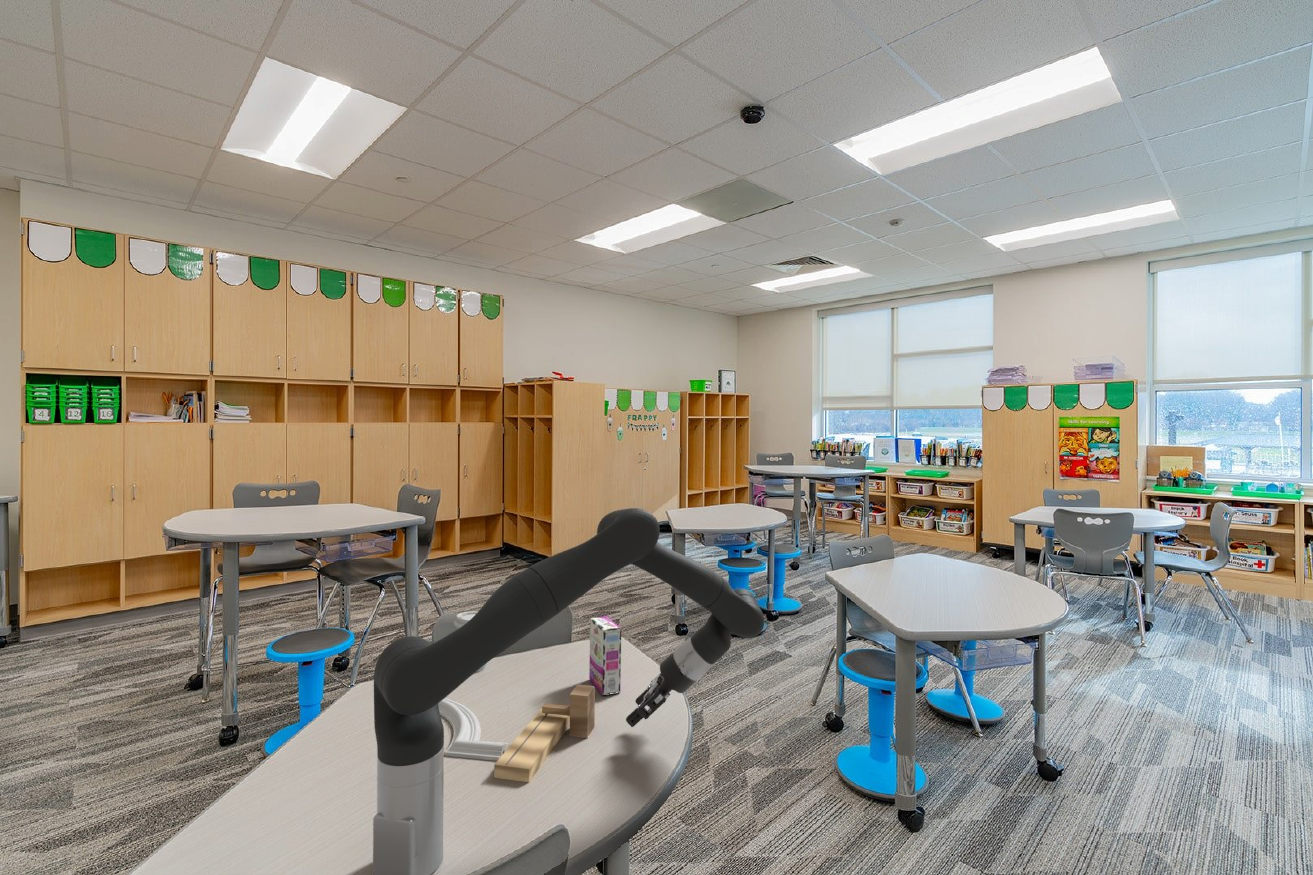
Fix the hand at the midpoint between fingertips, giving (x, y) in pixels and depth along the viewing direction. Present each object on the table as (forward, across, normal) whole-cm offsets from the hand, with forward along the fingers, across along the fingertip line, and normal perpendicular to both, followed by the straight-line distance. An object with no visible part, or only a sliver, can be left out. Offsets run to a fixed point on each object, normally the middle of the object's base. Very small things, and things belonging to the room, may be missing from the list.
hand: (633, 713), depth 126 cm
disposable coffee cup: (+40, -26, -32) cm, 57 cm away
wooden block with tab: (+14, 0, -7) cm, 16 cm away
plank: (+17, +8, -10) cm, 21 cm away
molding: (+32, 0, -24) cm, 40 cm away
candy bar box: (+13, -23, -6) cm, 27 cm away
